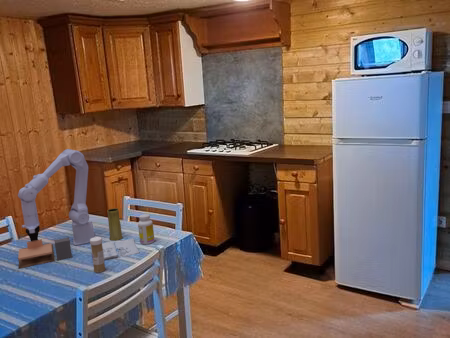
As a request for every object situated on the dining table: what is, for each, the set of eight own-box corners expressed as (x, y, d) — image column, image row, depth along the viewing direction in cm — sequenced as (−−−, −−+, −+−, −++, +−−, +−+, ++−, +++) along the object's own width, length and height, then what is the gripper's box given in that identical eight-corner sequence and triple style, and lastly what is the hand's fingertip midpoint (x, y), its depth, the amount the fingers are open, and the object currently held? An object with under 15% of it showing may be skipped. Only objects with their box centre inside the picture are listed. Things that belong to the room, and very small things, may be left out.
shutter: (51, 245, 189) (50, 237, 188) (52, 253, 179) (51, 245, 178) (19, 251, 184) (18, 243, 183) (18, 260, 174) (17, 252, 173)
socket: (53, 245, 198) (52, 239, 197) (54, 261, 180) (53, 253, 179) (20, 252, 193) (19, 245, 192) (18, 268, 175) (17, 261, 174)
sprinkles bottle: (91, 271, 168) (87, 239, 165) (101, 267, 171) (97, 235, 169) (98, 274, 165) (93, 241, 162) (108, 269, 168) (104, 237, 166)
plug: (71, 254, 186) (68, 237, 185) (72, 257, 183) (69, 240, 181) (56, 257, 184) (54, 240, 182) (57, 260, 181) (54, 243, 179)
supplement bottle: (156, 239, 198) (153, 213, 196) (152, 244, 192) (149, 217, 189) (142, 239, 199) (139, 213, 196) (138, 245, 193) (135, 218, 190)
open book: (90, 248, 194) (90, 243, 193) (135, 240, 200) (134, 236, 200) (92, 264, 176) (91, 259, 176) (141, 255, 182) (140, 250, 182)
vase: (125, 236, 204) (121, 208, 201) (118, 241, 199) (114, 212, 196) (114, 235, 206) (110, 207, 203) (107, 240, 201) (103, 211, 198)
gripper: (20, 211, 189) (25, 240, 192) (19, 220, 176) (24, 251, 179) (37, 209, 192) (42, 237, 195) (37, 217, 179) (42, 247, 182)
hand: (35, 243), depth 187 cm, fingers closed
